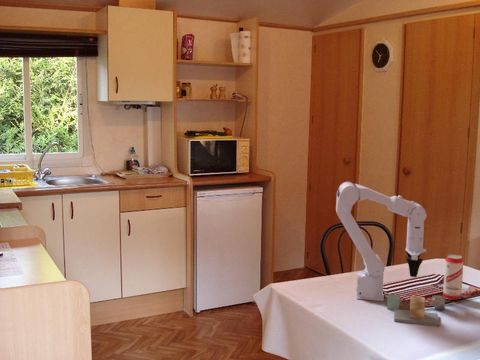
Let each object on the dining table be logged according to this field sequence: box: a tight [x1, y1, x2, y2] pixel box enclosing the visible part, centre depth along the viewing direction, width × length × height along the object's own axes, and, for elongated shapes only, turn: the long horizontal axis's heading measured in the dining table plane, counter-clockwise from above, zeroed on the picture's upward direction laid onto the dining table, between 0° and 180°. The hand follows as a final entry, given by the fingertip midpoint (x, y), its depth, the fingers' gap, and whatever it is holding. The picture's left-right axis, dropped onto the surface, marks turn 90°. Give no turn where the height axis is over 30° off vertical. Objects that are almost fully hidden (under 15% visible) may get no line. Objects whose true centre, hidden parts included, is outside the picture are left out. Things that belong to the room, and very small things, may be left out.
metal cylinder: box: [430, 294, 446, 312], centre depth 191 cm, size 4×4×4 cm
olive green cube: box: [386, 293, 401, 311], centre depth 193 cm, size 4×4×4 cm
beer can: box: [442, 253, 464, 300], centre depth 199 cm, size 6×6×16 cm
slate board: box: [393, 309, 440, 327], centre depth 183 cm, size 14×8×1 cm, turn 74°
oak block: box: [409, 295, 426, 320], centre depth 183 cm, size 4×4×6 cm
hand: (413, 273), depth 200 cm, fingers open, 7 cm apart
